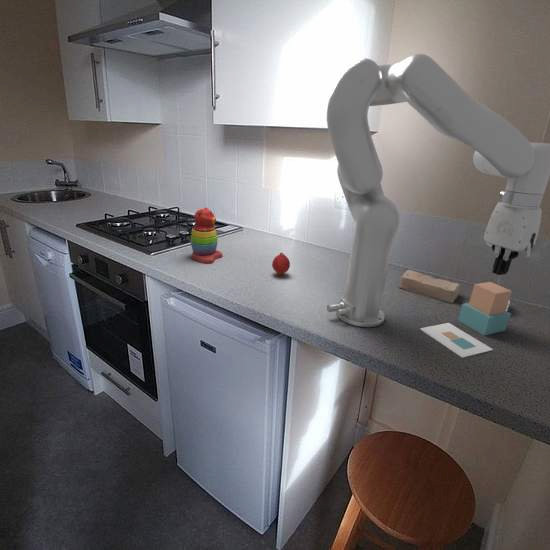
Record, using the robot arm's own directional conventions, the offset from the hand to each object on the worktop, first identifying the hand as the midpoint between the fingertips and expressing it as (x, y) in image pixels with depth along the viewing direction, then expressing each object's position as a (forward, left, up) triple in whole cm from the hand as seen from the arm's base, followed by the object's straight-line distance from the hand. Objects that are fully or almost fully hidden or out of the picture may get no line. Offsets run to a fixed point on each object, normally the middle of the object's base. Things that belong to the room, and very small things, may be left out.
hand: (499, 273), depth 90 cm
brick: (+2, +22, -16) cm, 27 cm away
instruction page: (-13, -3, -15) cm, 20 cm away
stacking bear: (-58, +68, -15) cm, 91 cm away
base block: (0, 0, -15) cm, 15 cm away
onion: (-38, +46, -15) cm, 62 cm away
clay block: (0, 0, -10) cm, 10 cm away
